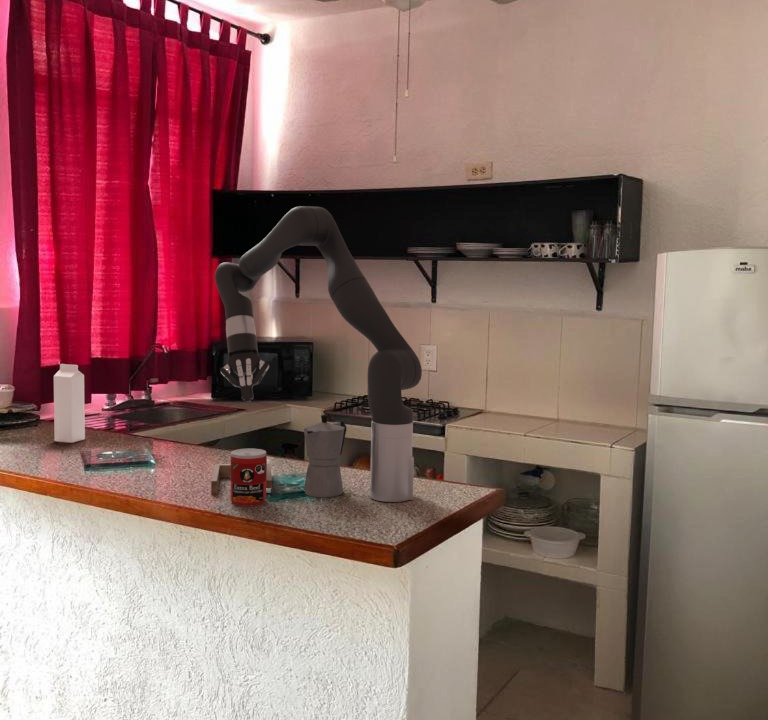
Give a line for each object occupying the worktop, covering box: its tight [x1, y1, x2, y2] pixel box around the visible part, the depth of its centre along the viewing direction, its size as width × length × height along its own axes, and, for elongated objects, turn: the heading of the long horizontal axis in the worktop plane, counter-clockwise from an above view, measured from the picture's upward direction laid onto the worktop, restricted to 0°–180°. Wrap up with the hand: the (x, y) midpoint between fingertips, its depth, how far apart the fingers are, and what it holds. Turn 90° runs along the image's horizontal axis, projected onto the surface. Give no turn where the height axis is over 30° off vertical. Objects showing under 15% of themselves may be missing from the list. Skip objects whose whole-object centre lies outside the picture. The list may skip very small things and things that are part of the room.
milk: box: [53, 363, 86, 444], centre depth 249 cm, size 6×6×22 cm
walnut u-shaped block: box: [210, 463, 273, 495], centre depth 202 cm, size 13×17×3 cm
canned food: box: [230, 447, 268, 507], centre depth 187 cm, size 8×8×11 cm
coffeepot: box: [303, 413, 347, 498], centre depth 197 cm, size 15×9×18 cm, turn 150°
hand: (248, 401), depth 217 cm, fingers closed
